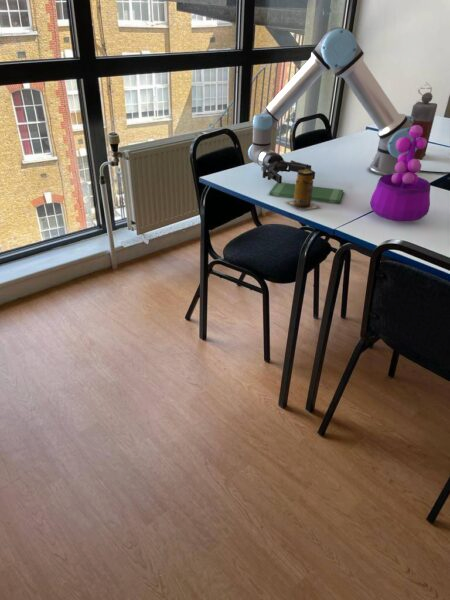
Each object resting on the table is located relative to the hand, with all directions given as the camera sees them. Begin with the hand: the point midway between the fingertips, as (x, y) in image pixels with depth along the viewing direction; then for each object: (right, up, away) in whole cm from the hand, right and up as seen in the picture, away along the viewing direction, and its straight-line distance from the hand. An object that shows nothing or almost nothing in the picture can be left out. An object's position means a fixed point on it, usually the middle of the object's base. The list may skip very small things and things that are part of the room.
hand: (297, 177), depth 165 cm
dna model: (+68, +33, +67) cm, 101 cm away
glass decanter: (+64, +25, +55) cm, 88 cm away
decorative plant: (+32, -16, -9) cm, 37 cm away
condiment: (+2, -10, 0) cm, 10 cm away
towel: (+5, -4, +9) cm, 11 cm away
